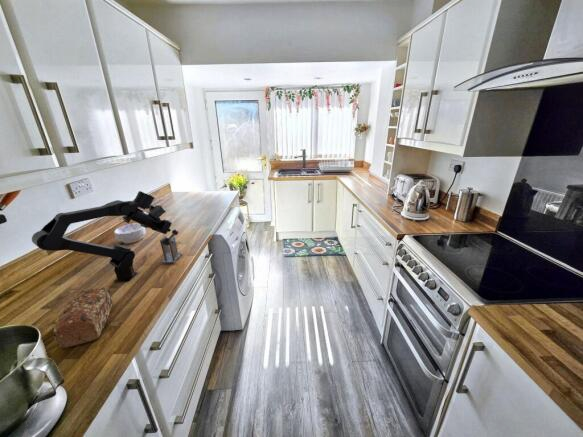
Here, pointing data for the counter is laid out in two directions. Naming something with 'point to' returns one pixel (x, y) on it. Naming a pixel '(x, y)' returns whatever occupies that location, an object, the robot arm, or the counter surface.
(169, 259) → the bracket
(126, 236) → the paper bowls
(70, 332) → the bread
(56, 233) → the robot arm
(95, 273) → the counter surface
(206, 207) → the counter surface
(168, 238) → the ball knob lever
